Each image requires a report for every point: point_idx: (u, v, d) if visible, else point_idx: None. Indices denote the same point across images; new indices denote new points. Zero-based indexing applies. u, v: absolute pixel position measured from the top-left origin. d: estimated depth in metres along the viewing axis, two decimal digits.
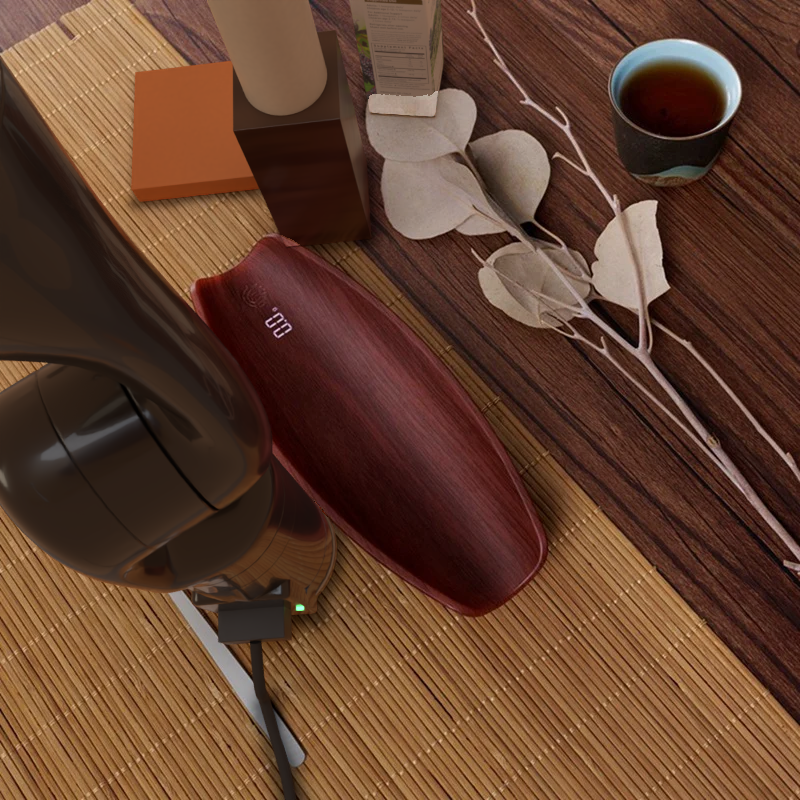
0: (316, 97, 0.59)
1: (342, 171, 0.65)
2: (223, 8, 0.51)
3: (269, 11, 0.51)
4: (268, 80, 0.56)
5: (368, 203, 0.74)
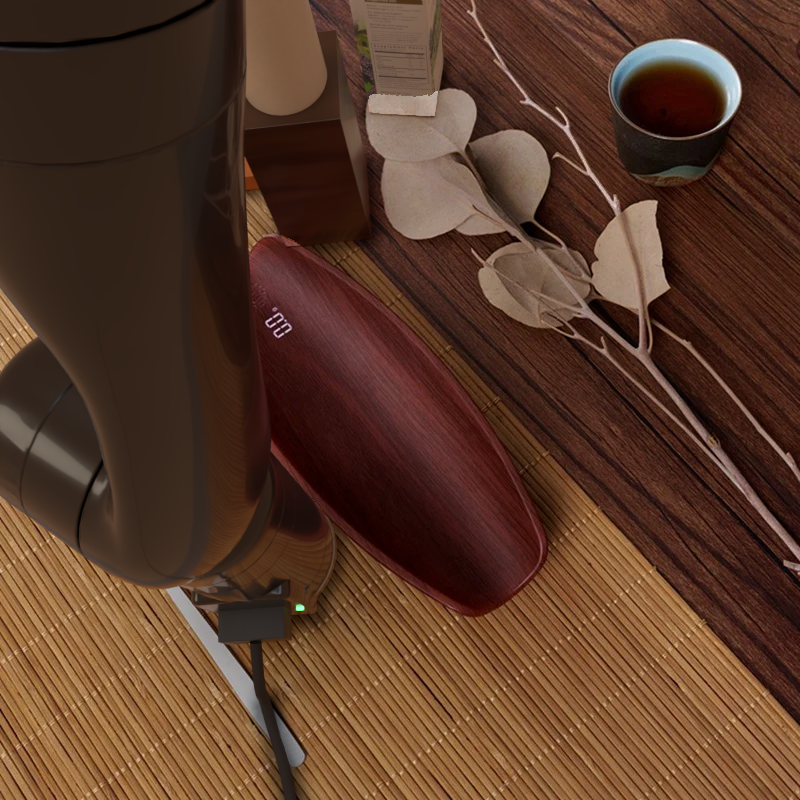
0: (316, 97, 0.59)
1: (342, 171, 0.65)
2: None
3: (269, 11, 0.51)
4: (268, 80, 0.56)
5: (368, 203, 0.74)
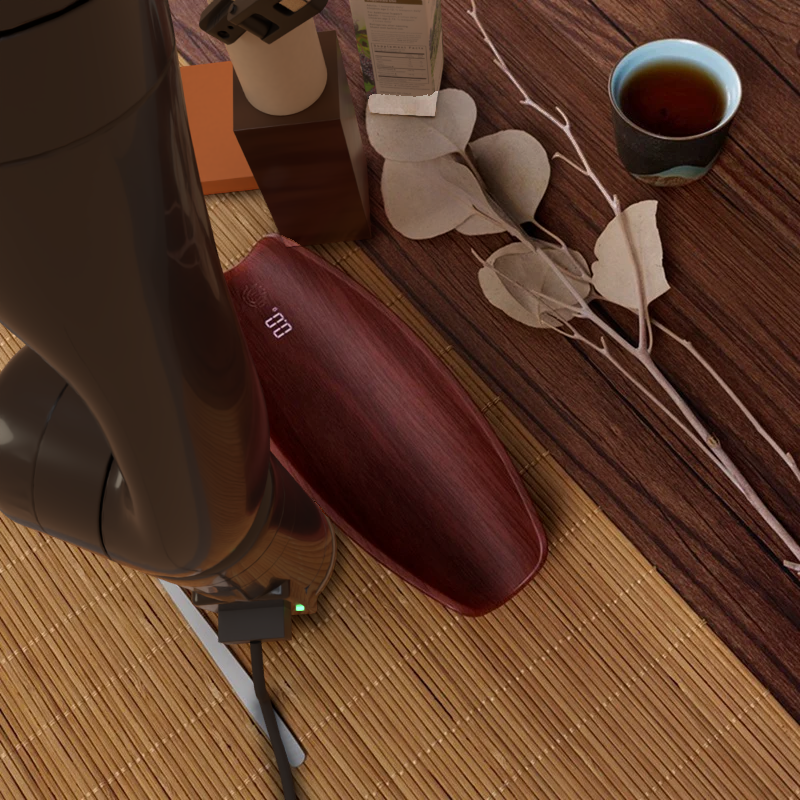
0: (316, 97, 0.59)
1: (342, 171, 0.65)
2: None
3: None
4: (268, 80, 0.56)
5: (368, 203, 0.74)
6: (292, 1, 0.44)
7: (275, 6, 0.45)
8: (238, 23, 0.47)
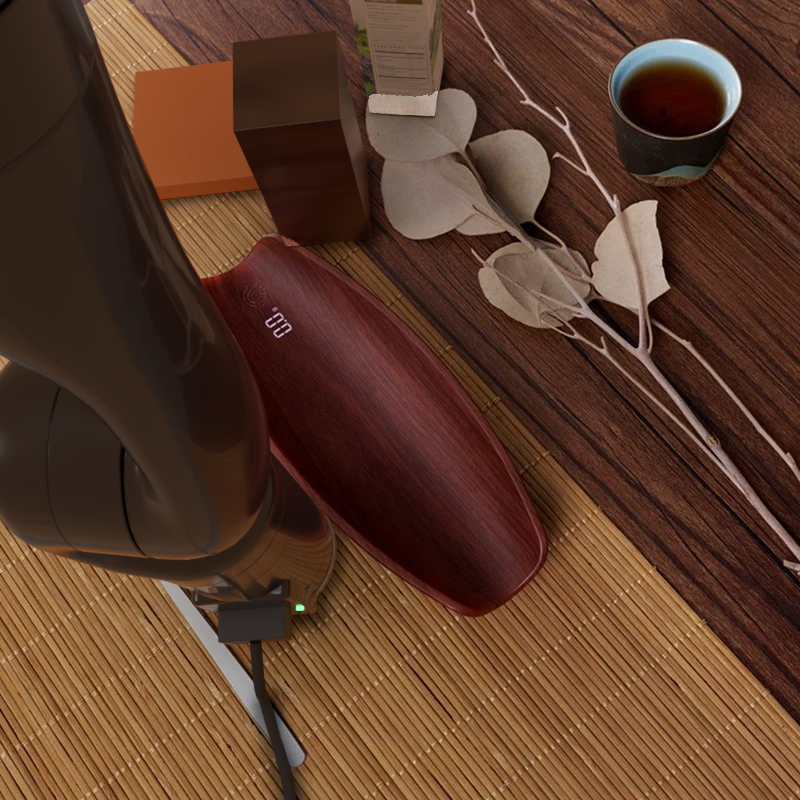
0: None
1: (342, 171, 0.65)
2: None
3: None
4: None
5: (368, 203, 0.74)
6: None
7: None
8: None
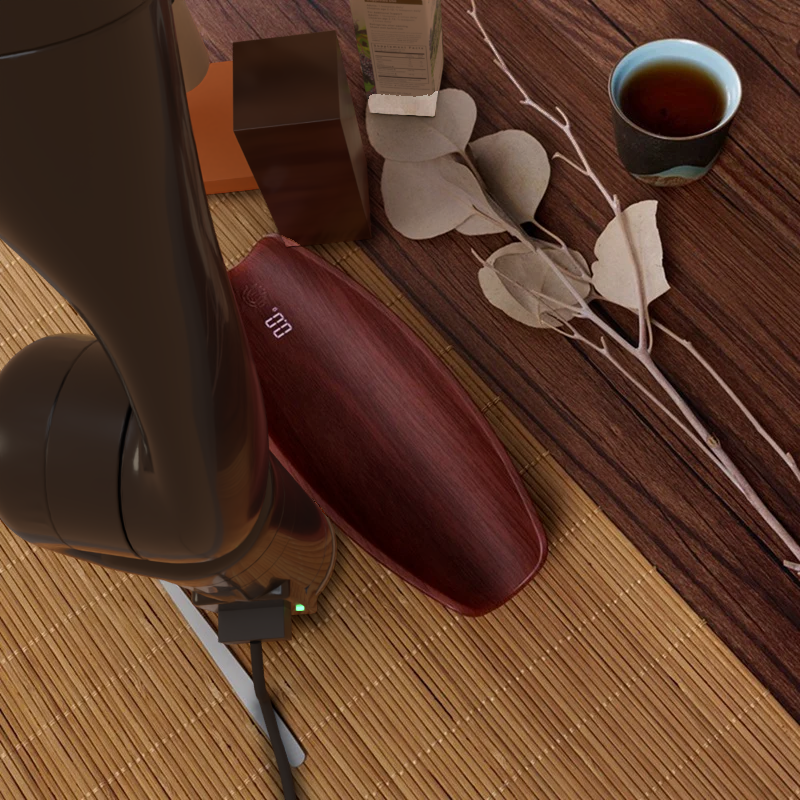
0: (199, 80, 0.69)
1: (342, 171, 0.65)
2: None
3: None
4: None
5: (368, 203, 0.74)
6: None
7: None
8: None
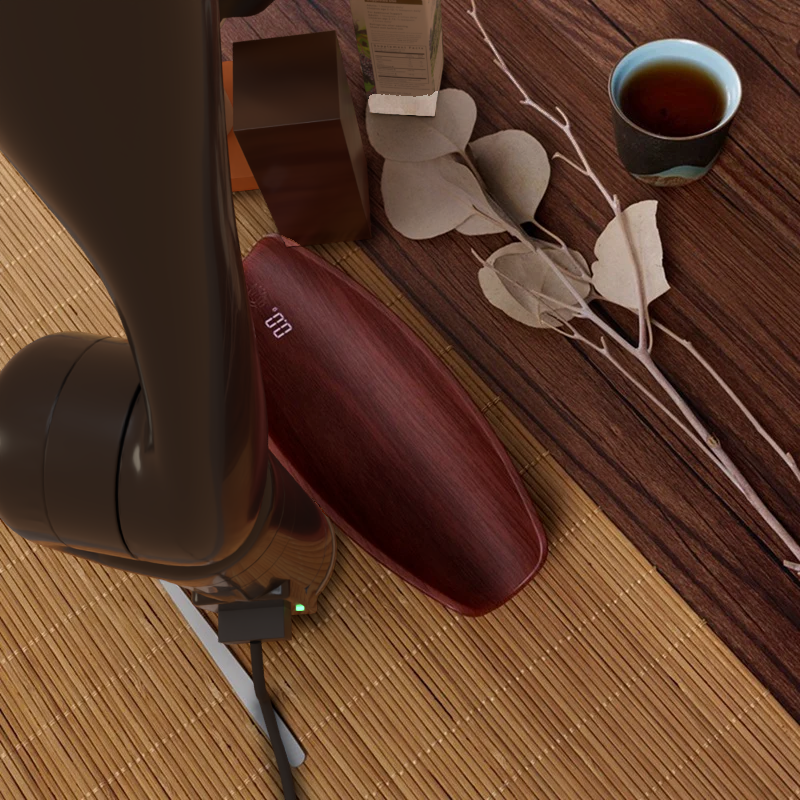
0: None
1: (342, 171, 0.65)
2: None
3: None
4: None
5: (368, 203, 0.74)
6: None
7: None
8: None
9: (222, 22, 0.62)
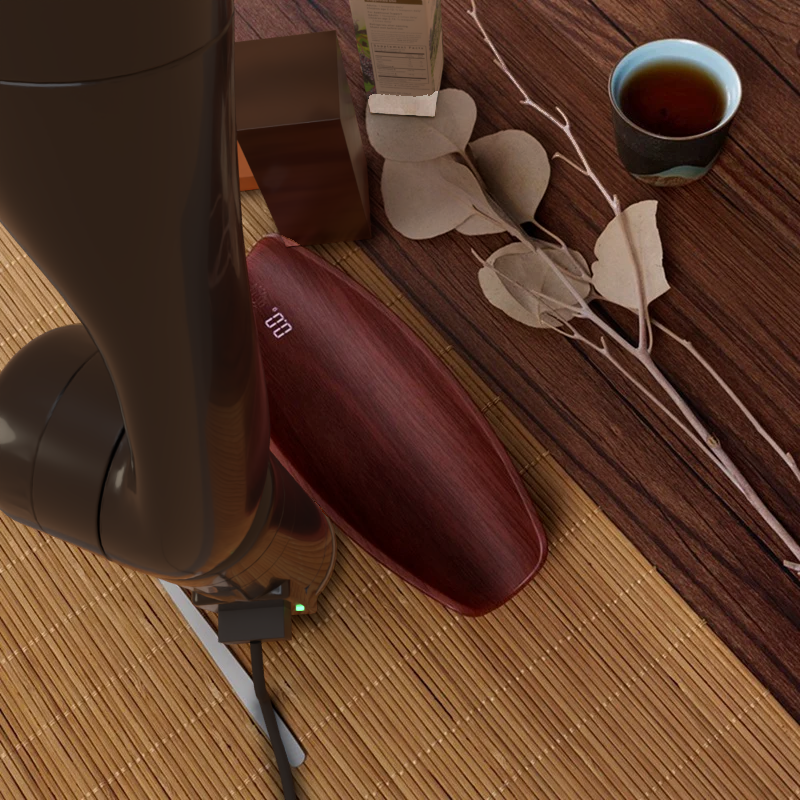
0: None
1: (342, 171, 0.65)
2: None
3: None
4: None
5: (368, 203, 0.74)
6: None
7: None
8: None
9: None
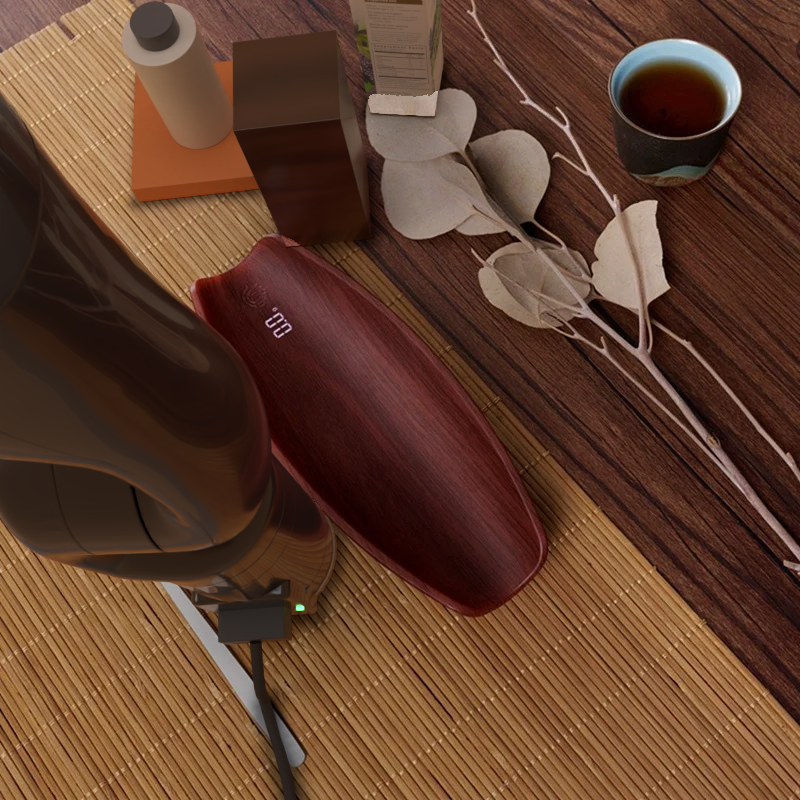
0: (225, 135, 0.76)
1: (342, 171, 0.65)
2: (143, 72, 0.67)
3: (178, 75, 0.67)
4: (183, 123, 0.73)
5: (368, 203, 0.74)
6: None
7: None
8: None
9: None
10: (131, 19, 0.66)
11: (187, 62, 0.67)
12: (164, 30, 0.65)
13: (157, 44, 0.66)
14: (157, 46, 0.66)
